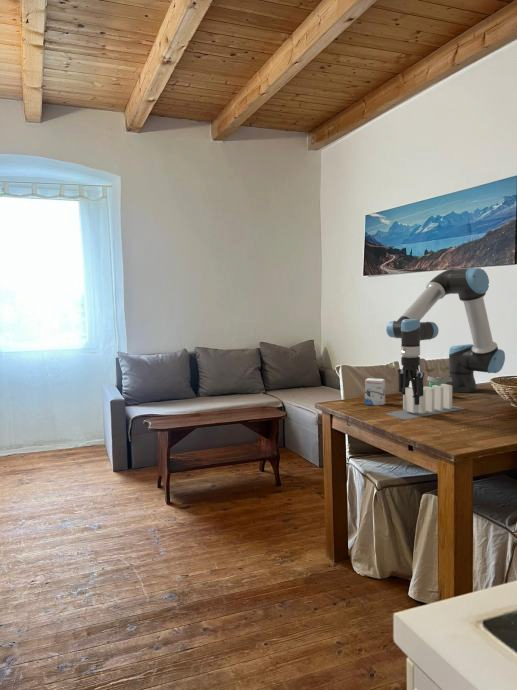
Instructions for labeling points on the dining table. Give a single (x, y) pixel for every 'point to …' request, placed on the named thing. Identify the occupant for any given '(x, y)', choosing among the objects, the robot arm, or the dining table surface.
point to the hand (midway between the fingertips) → (410, 410)
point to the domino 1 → (408, 399)
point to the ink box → (374, 391)
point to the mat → (409, 415)
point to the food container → (438, 381)
